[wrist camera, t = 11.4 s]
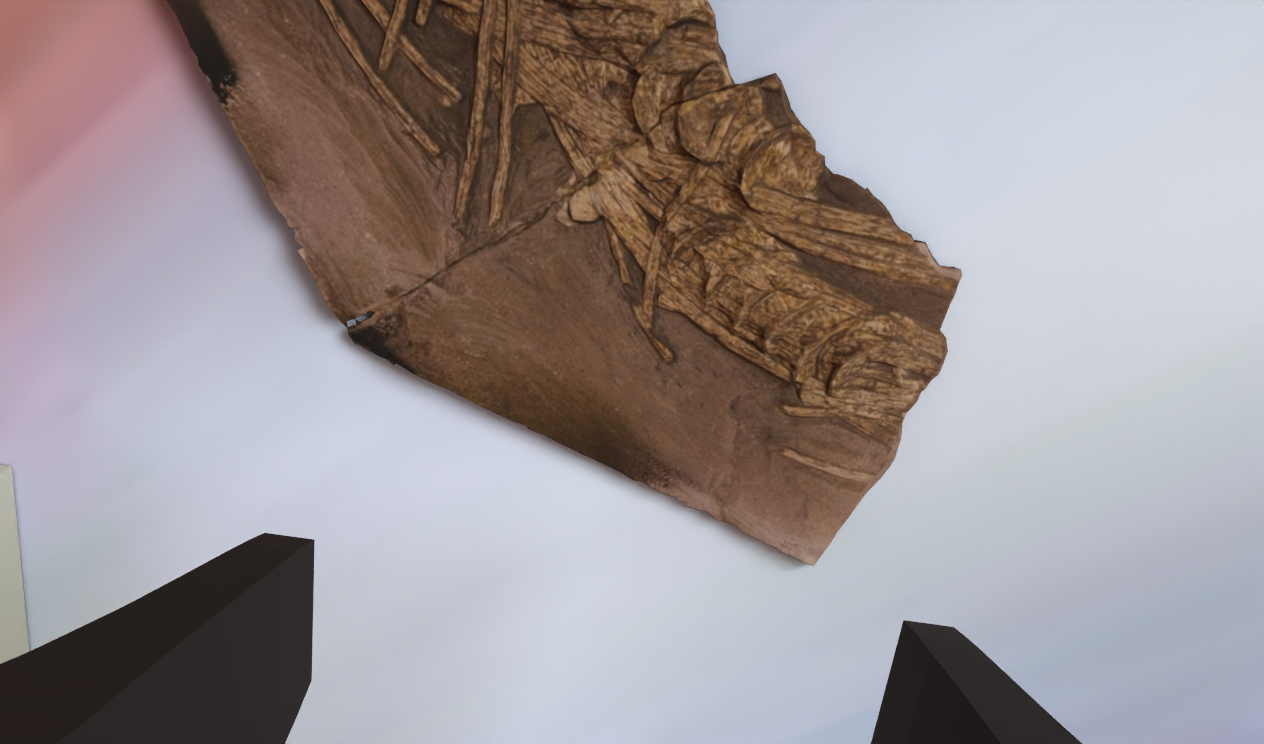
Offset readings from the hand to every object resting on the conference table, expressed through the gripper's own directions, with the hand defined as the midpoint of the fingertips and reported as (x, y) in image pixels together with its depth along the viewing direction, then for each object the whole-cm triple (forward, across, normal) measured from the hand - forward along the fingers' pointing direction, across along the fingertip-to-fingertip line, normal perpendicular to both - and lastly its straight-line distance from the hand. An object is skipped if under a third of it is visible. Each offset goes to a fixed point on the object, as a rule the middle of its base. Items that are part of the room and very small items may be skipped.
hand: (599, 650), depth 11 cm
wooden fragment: (+10, +4, -6) cm, 12 cm away
